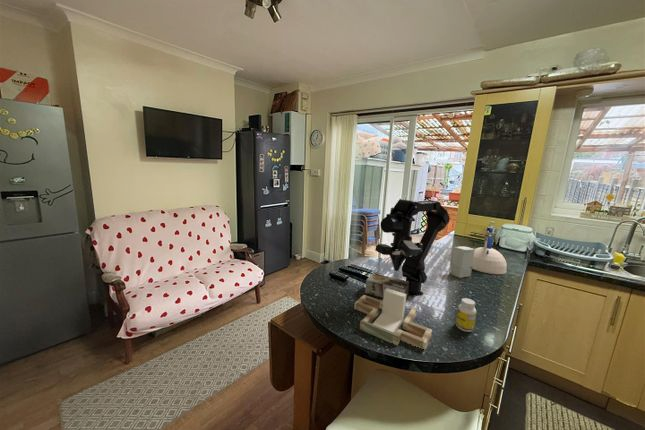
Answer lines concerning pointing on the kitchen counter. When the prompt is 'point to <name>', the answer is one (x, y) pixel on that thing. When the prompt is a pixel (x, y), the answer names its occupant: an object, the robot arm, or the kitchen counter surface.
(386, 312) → the bookend
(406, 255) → the robot arm
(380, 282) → the coffee box
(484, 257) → the pale pink dome
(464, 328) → the supplement bottle
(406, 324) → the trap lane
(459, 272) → the skincare box
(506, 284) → the kitchen counter surface
